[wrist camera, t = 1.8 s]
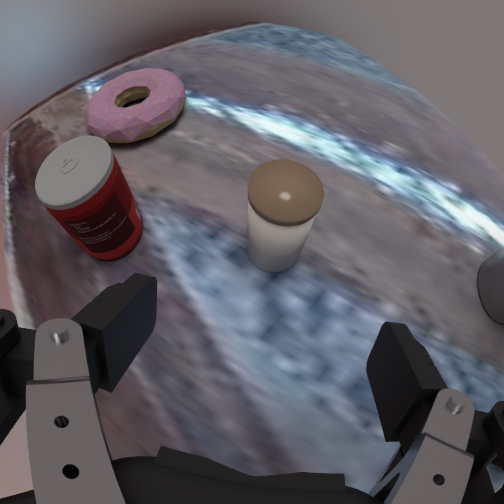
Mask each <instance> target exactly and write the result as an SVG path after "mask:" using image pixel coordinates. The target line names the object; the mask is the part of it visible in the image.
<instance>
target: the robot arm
mask: <svg viewBox="0 0 504 504" xmlns="http://www.w3.org/2000/svg"><path fill="white" fill-rule="evenodd" d="M478 288H479V293H480V297H481V300H482V303H483V305H484V307H485V309H486V311H487V313H488V314H489V315H490V316H491V318H492V319H493V320H495V321H496V322H498V323H500V324H504V247H503V248H501V249H500V250H499V251H497V252H496V253H495V254H493V255H492V256H491V257H489V258H488V259H487V260H485V261H484V262H483V263H482V265H481V267H480V270H479V274H478ZM156 306H157V280H156V278H155V277H152V276H148V275H143V274H139V273H134V274H133V275H132V276H130V277H129V278H128V279H127V280H126V281H125V282H124V283H117V284H114V285H112V286H109V287H107V288H106V289H105V290H103V291H102V292H101V293H100V294H99V296H97V297H95V298H94V299H93V300H92V302H90V303H89V304H87V305H86V306H85V307H84V308H83V309H82V310H81V311H79V312H78V313H77V314H76V315H75V316H74V317H73V318H72V319H71V320H69V319H53V320H49V321H47V322H45V323H43V324H42V325H40V326H39V328H38V329H37V330H32V329H26V328H20V327H18V324H17V320H16V316H15V315H14V313H13V312H11V311H9V310H6V309H0V445H1V444H2V442H3V441H4V439H5V438H6V436H7V435H8V433H9V432H10V430H11V429H12V428H13V426H14V425H15V423H16V422H17V420H18V419H19V417H20V416H21V415H22V414H23V412H24V411H25V409H26V421H27V438H28V449H29V459H30V467H31V475H32V481H33V487H34V489H33V490H30V491H27V492H23V493H20V494H16V495H13V496H9V497H5V498H1V499H0V504H504V484H503V486H502V488H501V489H500V490H499V491H498V492H496V493H495V492H494V489H493V486H492V483H491V480H490V477H489V474H488V471H487V468H486V467H487V466H488V465H489V464H490V463H491V462H492V461H493V460H494V459H495V458H496V456H497V455H498V458H499V460H500V463H501V465H502V468H503V471H504V401H499V402H497V403H496V404H495V405H494V406H493V408H492V409H491V410H490V412H489V413H486V412H481V411H477V410H474V405H473V403H472V402H471V400H470V399H469V398H468V397H467V396H466V395H465V394H463V393H462V392H460V391H458V390H455V389H448V388H447V386H446V384H445V382H444V380H443V379H442V377H441V375H440V373H439V371H438V370H437V368H436V366H434V363H433V361H432V359H431V358H430V356H429V354H428V352H427V351H426V349H425V347H424V346H422V345H421V344H420V343H419V342H418V341H417V340H416V339H414V337H413V336H412V334H411V332H410V331H409V329H408V327H407V326H406V325H405V324H401V323H393V322H385V323H384V324H383V325H382V327H381V329H380V332H379V334H378V336H377V339H376V341H375V343H374V346H373V348H372V350H371V353H370V355H369V357H368V361H367V367H366V371H367V376H368V379H369V382H370V386H371V389H372V393H373V396H374V400H375V403H376V407H377V410H378V414H379V418H380V421H381V425H382V429H383V433H384V437H385V441H386V442H396V441H400V446H399V448H398V449H397V450H396V452H395V453H394V455H393V457H392V458H391V460H390V462H389V463H388V465H387V467H386V468H385V470H384V471H383V473H382V474H381V476H380V478H379V479H378V481H377V482H376V484H375V485H374V487H373V488H372V489H371V491H370V492H369V493H368V494H367V493H365V492H362V491H360V490H358V489H355V488H352V487H348V486H345V478H344V474H329V473H308V472H298V473H290V474H281V475H270V476H250V475H247V474H244V473H242V472H239V471H236V470H234V469H231V468H229V467H227V466H224V465H222V464H219V463H217V462H215V461H212V460H210V459H208V458H205V457H201V456H197V455H193V454H189V453H185V452H181V451H178V450H174V449H171V448H167V447H164V446H161V447H160V450H159V452H158V455H157V457H152V456H137V457H127V458H121V459H117V460H113V459H112V456H111V453H110V450H109V447H108V443H107V440H106V437H105V433H104V429H103V426H102V422H101V418H100V414H99V410H98V406H97V402H96V398H95V393H96V392H97V391H98V389H99V388H101V389H103V390H106V391H108V392H111V393H112V391H113V390H114V388H115V387H116V385H117V384H118V382H119V381H120V379H121V378H122V376H123V375H124V373H125V372H126V370H127V369H128V367H129V366H130V364H131V363H132V361H133V360H134V358H135V357H136V355H137V354H138V352H139V351H140V349H141V348H142V346H143V345H144V343H145V342H146V341H147V339H148V338H149V336H150V335H151V333H152V331H153V329H154V326H155V322H156Z"/></svg>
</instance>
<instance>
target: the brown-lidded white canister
mask: <svg viewBox="0 0 504 504" xmlns="http://www.w3.org/2000/svg"><path fill="white" fill-rule="evenodd" d="M323 197H324V190H323V185H322V183H321V181H320V179H319V177H318V176H317V175H316V174H315V173H314V172H313V171H312V170H311V169H310V168H308V167H307V166H305V165H303V164H301V163H298V162H295V161H291V160H273V161H269V162H266V163H264V164H262V165H260V166H259V167H258V168H257V169H255V170H254V172H253V173H252V175H251V176H250V179H249V182H248V199H249V206H248V229H247V253H248V256H249V258H250V260H251V262H252V263H253V264H254V265H255V266H256V267H258V268H259V269H261V270H263V271H266V272H270V273H279V272H283V271H286V270H288V269H290V268H291V267H292V266H293V265H294V264H295V263H296V261H297V260H298V257H299V255H300V253H301V250H302V248H303V245H304V243H305V240H306V238H307V235H308V233H309V231H310V228H311V226H312V223H313V220H314V218H315V215H316V214H317V213H318V211H319V209H320V206H321V204H322V201H323Z"/></svg>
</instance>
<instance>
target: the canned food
mask: <svg viewBox="0 0 504 504" xmlns="http://www.w3.org/2000/svg"><path fill="white" fill-rule="evenodd" d="M35 189H36V193H37V195H38V197H39V199H40V200H41V202H42V203H43V205H44V206H45V207H46V208H47V210H48V211H49V212H50V213H51V214H52V215H53V217H54V218H55V219H56V220H57V221H58V222H59V223H60V224H61V226H62V227H63V228H64V229H65V230H66V231H67V232H68V233H69V234H70V235H71V236H72V238H73V239H74V240H75V241H76V242H77V243H78V244H79V245H80V246H81V247H82V248H83V249H84V250H85V251H86V252H87V253H88V254H89V255H91V256H93V257H95V258H98V259H102V260H113V259H117V258H120V257H122V256H124V255H126V254H127V253H128V252H130V251H131V250H132V249H133V248H134V246H135V245H136V244H137V242H138V240H139V238H140V236H141V233H142V215H141V212H140V210H139V208H138V206H137V203H136V201H135V199H134V197H133V195H132V193H131V191H130V189H129V186H128V184H127V182H126V180H125V178H124V176H123V173H122V171H121V169H120V167H119V164H118V162H117V160H116V158H115V156H114V154H113V151H112V150H111V148H110V146H109V145H108V143H107V142H106V141H105V140H104V139H102V138H100V137H97V136H80V137H77V138H74V139H71V140H69V141H67V142H65V143H63V144H62V145H60V146H59V147H58V148H56V149H55V150H54V151H53V152H52V153H51V154H50V155H49V156H48V157H47V158H46V159H45V161H44V162H43V164H42V165H41V167H40V169H39V171H38V174H37V177H36V181H35Z"/></svg>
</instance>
